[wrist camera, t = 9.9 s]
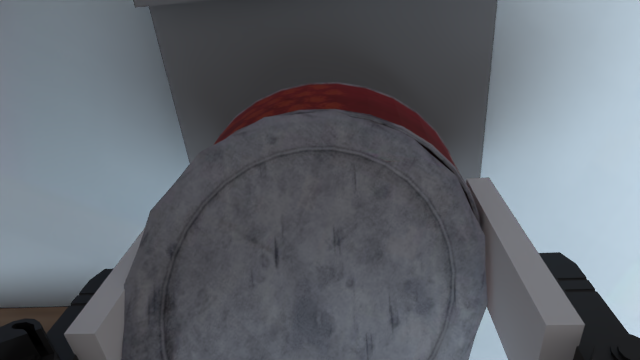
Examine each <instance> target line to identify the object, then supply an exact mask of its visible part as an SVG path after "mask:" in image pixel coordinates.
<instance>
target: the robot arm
mask: <svg viewBox="0 0 640 360" xmlns="http://www.w3.org/2000/svg"><path fill="white" fill-rule="evenodd" d="M466 184H467V186H468V187H469V189H470V190H471V193H472V196H473V199H474V202H475V205H476V207H477V210H478V213H479V216H480V226H481V229H482V231H483V233H484V235H485V270H486V284H487V298H488V304H487V308H488V310H489V313H490V315H491V318H492V320H493V323H494V325H495V328H496V330H497V333H498V335H499V338H500V340H501V343H502V345H503V348H504V350H505V353H506V355H507V358H508V360H640V338H638V337H636V336H634V335H630V334H629V333H628V332H627V331H626V329H625V328H624V327H623V325H622V324H621V323H620V321H619V320H618V319H617V317H616V316H615V315H614V313H613V312H612V311H611V310H610V308H609V307H608V306H607V304H606V303H605V302H604V300H603V299H602V298H601V296H600V295H599V294H598V292H595V288H594V287H593V286H592V284H591V283H590V282H589V280H587V279H586V276H585V275H584V274H583V272H582V271H581V270H580V268H579V267H578V266H577V264H575V263H574V262H573V261H571V260H570V259H568V258H567V257H565V256H564V255H563V254H561V253H560V252H558V253H538V252H537V250H536V249H535V247H534V246H533V244H532V243H531V241H530V240H529V238H528V237H527V235H526V233H525V232H524V230H523V229H522V227H521V226H520V224H519V223H518V221H517V220H516V218H515V217H514V215H513V214H512V212H511V211H510V209H509V207H508V206H507V204H506V203H505V201H504V200H503V198H502V197H501V195H500V194H499V192H498V191H497V189H496V188H495V186H494V184H493V183H492V181H491V180H490V178H470V179H466ZM143 232H144V230H143V231H142V232H141V234H140V235H139V236H138V238H137V239H136V240H135V242H134V243H133V244H132V246H131V247H130V248H129V249H128V251H127V252H126V253H125V255H124V256H123V257H122V259H121V260H120V261H119V263H118V264H117V265H116V266H115V268H114V269H104V270H103V271H102V272H100V273H99V274H98V275H96V276H95V277H94V278H92V279H91V280H90V281H89V282H88V283H87V284H86V285H85V287H84V288H83V289H82V290H81V292H80V293H79V296H77V297H76V298H75V299H74V300H73V301H72V303H71V306H68V308H67V309H66V310H65V311H64V313H63V314H62V315H61V316H60V317H59V319H58V320H57V321H56V322H55V324H54V325H53V326H52V327H51V329H50V330H49V331H48V332H47V333H46V332H45V331H44V329H43V327H42V325H41V323H40V322H39V321H37V320H35V319H28V318H25V319H20V320H16V321H13V322H10V323H8V324H6V325H4V326H1V327H0V360H121V359H122V346H123V334H124V301H125V289H124V283H125V281H126V278H127V276H128V273H129V271H130V268H131V266H132V263H133V261H134V258H135V256H136V253H137V250H138V248H139V245H140V242H141V239H142V236H143Z"/></svg>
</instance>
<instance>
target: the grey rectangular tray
mask: <svg viewBox="0 0 640 360" xmlns="http://www.w3.org/2000/svg"><path fill="white" fill-rule="evenodd" d="M133 1H134V5H135V7H145V6H149V9H150V13H151V16H152V20H153V24H154V28H155V32H156V36H157V39H158V43H159V47H160V51H161V55H162V59H163V62H164V66H165V70H166V74H167V78H168V82H169V85H170V89H171V93H172V97H173V101H174V105H175V108H176V112H177V116H178V120H179V124H180V128H181V131H182V135H183V139H184V143H185V147H186V151H187V155H188V158H189V162H190V163H191V162H192V161H193V159H194V158H195V157H196V156H197V154H198V153H199V152H201V151H203V150H205V149H207V148H209V147H211V146H213V145H214V143H215V142H216V140H217V138H218V136H219V135H220V134H221V132H222V131H223V130H224V129H225V128H226V127H227V125H228V124H229V123H230V122H231V121H232V120H233V118H234V117H235V116H236V115H238V114H239V113H240V112H242V111H243V110H244V109H246V108H247V107H248V106H250V105H251V104H252V103H254V102H255V101H257V100H259V99H261V98H263V97H265V96H268V95H270V94H272V93H274V92H276V91H278V90H281V89H285V88H289V87H293V86H297V85H302V84H306V83H321V82H341V83H347V84H353V85H359V86H365V87H369V88H371V89H374V90H377V91H379V92H382V93H385V94H387V95H390V96H393V97H395V98H396V99H398V100H399V101H401V102H402V103H404V104H406V105H407V106H409V107H410V108H412V109H414V110H415V111H417V112H418V113H419V114H420V115H421V116H422V117H423V118H424V119H425V120H426V121H427V122H428V123H429V124H430V125H431V126H432V127H433V128H434V129H435V130H436V131H437V133H438V134H439V136H440V137H441V139H442V140H443V142H444V143H445V145H446V146H447V148H448V150H449V151H450V154H451V156H452V159H453V161H454V163H455V165H456V167H457V169H458V171H459V173H460V174H461V176H462V178H463V180H464V181H465V183H466V179H470V178H480V173H481V163H482V153H483V142H484V132H485V122H486V112H487V101H488V91H489V81H490V71H491V60H492V50H493V40H494V30H495V20H496V9H497V0H133Z"/></svg>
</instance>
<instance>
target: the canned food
mask: <svg viewBox="0 0 640 360" xmlns="http://www.w3.org/2000/svg"><path fill="white" fill-rule="evenodd" d="M124 289H125V301H124V334H123V346H122V359H121V360H468V359H469V356H470V352H471V349H472V345H473V342H474V339H475V335H476V333H477V330H478V327H479V325H480V322H481V320H482V317H483V314H484V312H485V309H486V307H487V304H488V298H487V284H486V270H485V235H484V233H483V231H482V229H481V226H480V216H479V213H478V210H477V207H476V205H475V202H474V199H473V196H472V193H471V190H470V189H469V187H468V186H467V184H466V183H465V181H464V180H463V178H462V176H461V174H460V173H459V171H458V169H457V167H456V165H455V163H454V161H453V159H452V156H451V154H450V151H449V150H448V148H447V146H446V145H445V143H444V142H443V140H442V139H441V137H440V136H439V134H438V133H437V131H436V130H435V129H434V128H433V127H432V126H431V125H430V124H429V123H428V122H427V121H426V120H425V119H424V118H423V117H422V116H421V115H420V114H419V113H418V112H417V111H415V110H414V109H412V108H410V107H409V106H407V105H406V104H404V103H402V102H401V101H399V100H398V99H396V98H395V97H393V96H390V95H387V94H385V93H382V92H379V91H377V90H374V89H371V88H369V87H365V86H359V85H353V84H347V83H341V82H321V83H306V84H302V85H297V86H293V87H289V88H285V89H281V90H278V91H276V92H274V93H272V94H270V95H268V96H265V97H263V98H261V99H259V100H257V101H255V102H254V103H252V104H251V105H250V106H248V107H247V108H246V109H244V110H243V111H242V112H240V113H239V114H238V115H236V116H235V117H234V118H233V120H232V121H231V122H230V123H229V124H228V125H227V127H226V128H225V129H224V130H223V131H222V132H221V134H220V135H219V136H218V138H217V140H216V142H215V143H214V145H213V146H211V147H209V148H207V149H205V150H203V151H201V152H199V153H198V154H197V156H196V157H195V158H194V159H193V161H192V162H191V163H190V165H189V166H188V167H187V168H186V170H185V171H184V172H183V173H182V175H181V176H180V177H179V178H178V180H177V181H176V182H175V183H174V185H173V186H172V187H171V188H170V189H169V190H168V191H167V193H166V194H165V195H164V196H163V197H162V198H161V199H160V201H159V202H158V203H157V204H156V205H155V206H154V207H153V209H152V210H151V211H150V214H149V217H148V220H147V223H146V226H145V229H144V232H143V236H142V239H141V242H140V245H139V248H138V250H137V253H136V256H135V258H134V261H133V263H132V266H131V268H130V271H129V273H128V276H127V278H126V281H125V283H124Z"/></svg>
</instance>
